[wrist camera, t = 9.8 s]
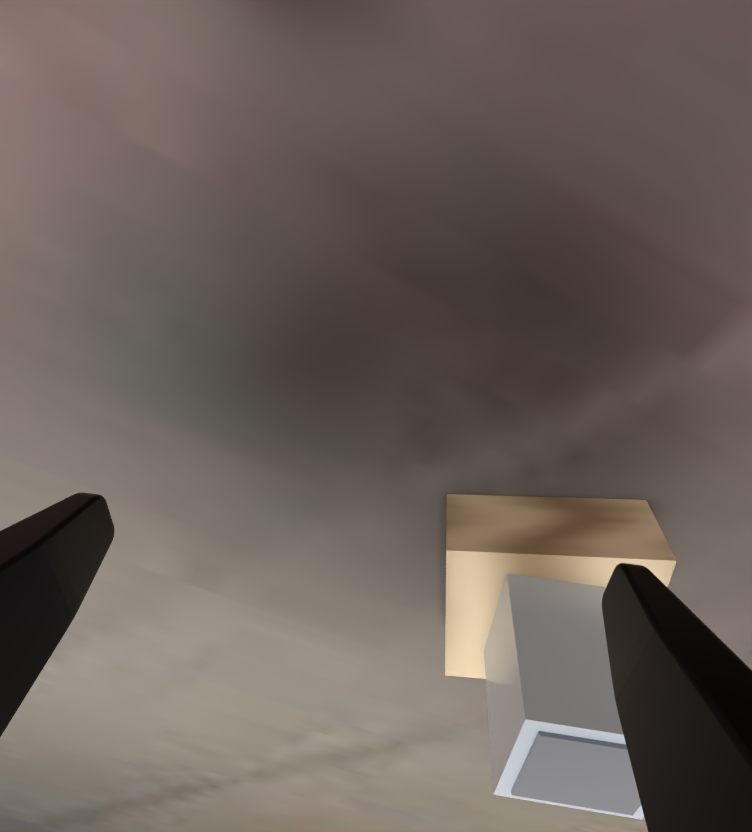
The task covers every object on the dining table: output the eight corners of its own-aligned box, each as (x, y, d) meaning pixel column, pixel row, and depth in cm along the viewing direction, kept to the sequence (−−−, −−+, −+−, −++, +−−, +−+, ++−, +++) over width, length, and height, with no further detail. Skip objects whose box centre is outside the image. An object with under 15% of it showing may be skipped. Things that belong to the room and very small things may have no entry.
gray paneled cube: (639, 591, 21) (703, 752, 16) (599, 667, 24) (642, 824, 19) (506, 573, 21) (525, 724, 16) (483, 650, 24) (493, 799, 19)
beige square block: (643, 494, 23) (676, 560, 20) (609, 619, 28) (631, 690, 24) (446, 488, 24) (446, 550, 21) (445, 609, 29) (445, 675, 26)
